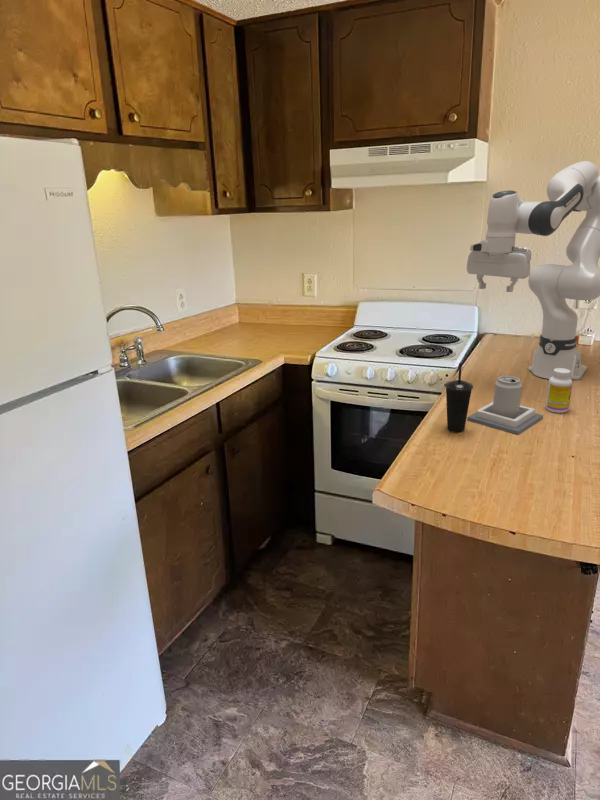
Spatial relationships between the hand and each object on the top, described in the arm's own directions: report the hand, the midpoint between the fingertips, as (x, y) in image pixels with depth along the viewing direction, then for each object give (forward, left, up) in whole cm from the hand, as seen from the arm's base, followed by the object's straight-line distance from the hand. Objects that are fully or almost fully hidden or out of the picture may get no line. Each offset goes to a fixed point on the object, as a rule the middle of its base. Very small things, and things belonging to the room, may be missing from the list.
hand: (495, 290), depth 184 cm
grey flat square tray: (+20, +17, -34) cm, 43 cm away
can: (+20, +17, -33) cm, 42 cm away
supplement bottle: (+2, +25, -34) cm, 43 cm away
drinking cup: (+36, +10, -34) cm, 51 cm away
